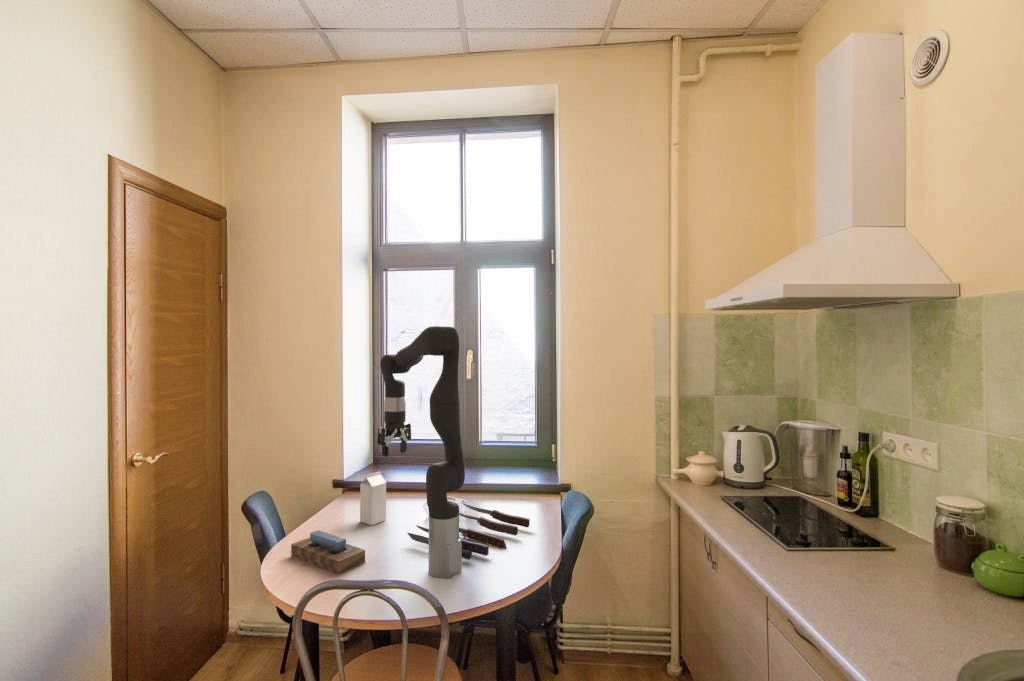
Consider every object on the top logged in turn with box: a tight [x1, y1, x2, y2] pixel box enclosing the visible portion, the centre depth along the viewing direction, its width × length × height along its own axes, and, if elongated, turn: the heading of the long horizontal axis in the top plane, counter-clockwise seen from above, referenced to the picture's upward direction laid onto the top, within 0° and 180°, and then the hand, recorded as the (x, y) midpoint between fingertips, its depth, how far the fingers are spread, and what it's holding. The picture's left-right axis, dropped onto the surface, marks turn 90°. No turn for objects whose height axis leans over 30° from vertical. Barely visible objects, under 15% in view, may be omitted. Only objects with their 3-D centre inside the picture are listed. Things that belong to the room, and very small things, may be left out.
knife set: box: [407, 501, 531, 561], centre depth 174 cm, size 35×33×8 cm
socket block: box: [290, 536, 366, 575], centre depth 156 cm, size 24×10×4 cm, turn 57°
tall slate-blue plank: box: [309, 530, 347, 555], centre depth 156 cm, size 14×3×8 cm, turn 58°
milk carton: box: [359, 470, 387, 526], centre depth 191 cm, size 7×7×19 cm
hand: (394, 454), depth 174 cm, fingers open, 8 cm apart
